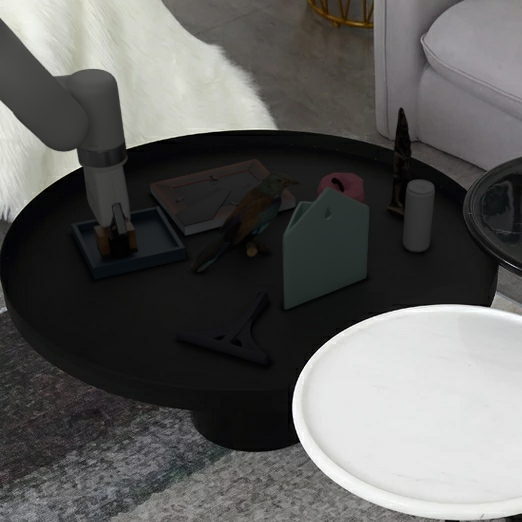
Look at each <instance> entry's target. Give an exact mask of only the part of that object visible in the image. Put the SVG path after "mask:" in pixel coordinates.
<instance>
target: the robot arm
mask: <svg viewBox="0 0 522 522" xmlns="http://www.w3.org/2000/svg"><path fill="white" fill-rule="evenodd" d="M119 91H120V90H119V86H118V82H117V79H116V77H115V76H114V75H113V74H112V73H111V72H109V71H108V70H105V69H100V68H85V69H81V70H77V71H75V72H73V73H71V74H65V75H53V74H52V73H51V72H50V71H49V70H48V69H47V67H45V66H44V65H43V64H42V62H41V61H39V60H38V58H37V57H36V56H35V55H34V54H33V53H32V51H31V50H29V48H28V47H27V46H26V44H24V43H23V41H22V40H21V39H20V38H19V37H18V36H17V34H16V33H15V32H14V31H13V30H12V29H11V28H10V27H9V26H8V25H7V23H6V22H5V21H4V20H3V19H2V18H1V17H0V102H1V103H2V104H3V105H4V106H5V107H6V108H8V110H10V111H11V112H12V114H13V116H14V117H15V118H16V119H17V120H18V121H19V123H21V124H22V125H23V126H24V127H25V128H26V129H27V130H28V131H30V133H32V134H33V135H34V136H35V137H36V138H37V139H38V140H39V141H40V142H41V143H42V144H43V145H45V146H46V147H47V148H48V149H50V150H52V151H56V152H60V153H61V152H62V153H66V152H67V153H68V152H71V151H74V150H76V154H77V160H78V161H77V162H78V164H79V166H81V167H82V168H83V175H84V176H83V177H84V182H85V190H86V191H85V192H86V199H87V203H88V206H89V207H90V210H91V211H92V213H93V215H94V217H95V219H97V221H98V223H99V224H100V225H101V226H102V227H104V228H106V227H108V231H109V236H110V237H108V242H109V248H110V254H111V257H112V259H115V258H120V257H124V256H129V255H130V254H131V252H130V246H129V239H128V234H127V228H126V223H125V221H126V222H127V223H128V222H129V221H130V219H131V215H130V212H131V206H130V201H129V193H128V188H127V183H126V176H125V171H124V165H125V164H126V163H127V161H128V150H127V142H126V136H125V129H124V122H123V114H122V107H121V99H120V92H119ZM114 225H116V229H114V230H113V228H112V226H114Z"/></svg>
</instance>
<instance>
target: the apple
mask: <svg viewBox="0 0 522 522" xmlns="http://www.w3.org/2000/svg"><path fill="white" fill-rule="evenodd" d="M327 187H330V188H332V189H334V190H336V191H338V192H340V193H342V194H344V195H346V196H348V197H350V198H352V199H354V200H356V201H358V202H360V203H362V204H365V205H366V203H365V192H364V189H365V188H364V179H363V178H361V177H360V176H358V175H356V174H355V173H353V172H332V173H330V174H327V175H325V176H324V177H323V178H321V180H320V182H319V184H318V187H317V192H316V193H317V196H316V199H317V198H318V197H319V195H320V194H321V193H322V192H323V191H324V189H325V188H327Z"/></svg>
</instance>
